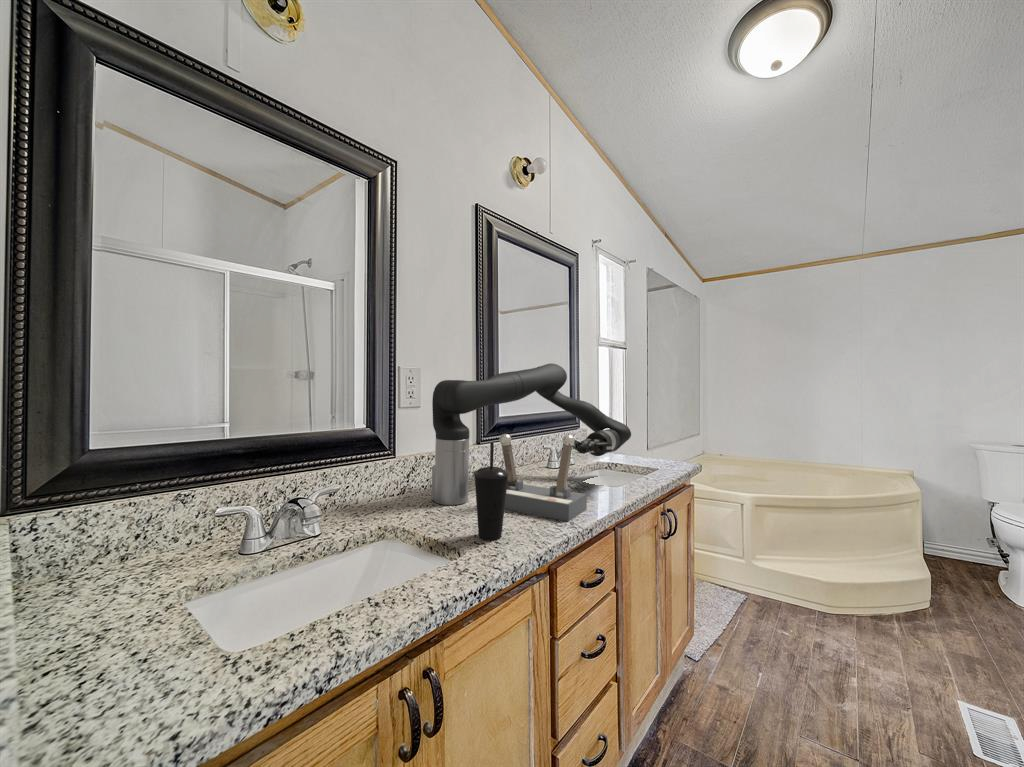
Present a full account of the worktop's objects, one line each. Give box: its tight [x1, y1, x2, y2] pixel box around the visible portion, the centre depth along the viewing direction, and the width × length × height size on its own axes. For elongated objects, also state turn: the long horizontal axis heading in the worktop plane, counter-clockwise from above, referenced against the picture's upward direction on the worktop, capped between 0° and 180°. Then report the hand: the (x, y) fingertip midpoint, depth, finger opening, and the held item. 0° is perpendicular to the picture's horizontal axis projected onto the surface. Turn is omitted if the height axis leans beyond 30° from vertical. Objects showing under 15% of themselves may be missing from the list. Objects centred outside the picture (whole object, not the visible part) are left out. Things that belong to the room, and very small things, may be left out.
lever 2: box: [555, 434, 575, 493], centre depth 112 cm, size 3×3×15 cm
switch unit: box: [504, 480, 588, 522], centre depth 114 cm, size 24×12×6 cm, turn 60°
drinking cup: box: [472, 441, 509, 541], centre depth 91 cm, size 8×8×20 cm
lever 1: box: [498, 433, 518, 487], centre depth 115 cm, size 3×3×15 cm
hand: (581, 449), depth 122 cm, fingers closed
